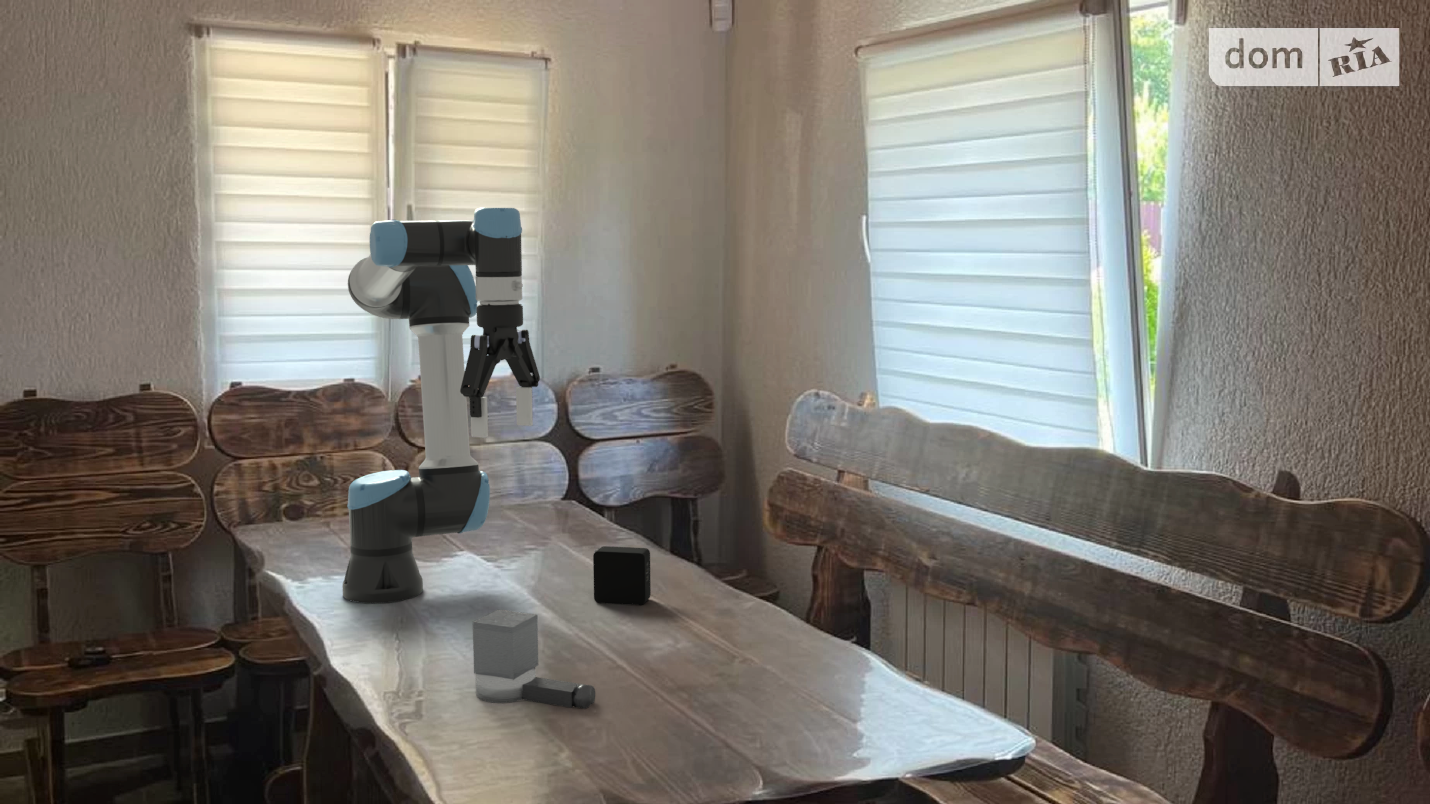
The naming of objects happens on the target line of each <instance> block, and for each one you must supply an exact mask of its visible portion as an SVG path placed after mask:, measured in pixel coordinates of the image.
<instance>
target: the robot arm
mask: <svg viewBox="0 0 1430 804" xmlns="http://www.w3.org/2000/svg"><path fill="white" fill-rule="evenodd" d="M522 233H523V228H522V224H521V214H520V211H519V209H517V208H515V207H478V208H476V209H475V210H474V214H473V220H470V219H469V220H467V219H466V220H454V219H453V220H406V219H405V220H400V219H398V220H397V219H389V220H380V221H379V220H378V221H374V222H373V223H372V225H371V226H370V232H369V252H370V254H369V255H368V256H367V257H365V258H363V259H360V260H359V261H358V262H356V264H355V265H354V266H353V267H352V269H351V271H350V272H349V274H348V279H347V289H348V290H347V291H348V292H349V295H350V297H351V299H352V300H353V302H354V303H355V304H356V305H357V306H358V307H359V308H360V309H362V310H363V311H365V312H367V313H368V314H371V315H372V316H375V317H378V318H382V319H389V320H408V324H409V330H411V332H413V333H414V334H415V335H416V337H417V340H418V357H419V371H420V373H419V374H420V385H421V389H420V390H421V402H422V405H421V406H422V417H423V420H422V421H423V433H424V435H423V436H424V448H425V450H424V451H425V457H424V458H425V459H423V461H422V463H421V464H420V465H419V466H418V476H415V477H414V476H413V477H412V475H411V474H410V472H409V471H407V470H404V469H394V470H392V469H390V470H382V471H377V472H373V473H369V474H366V475H364V476H361V477H359V478H356V479H355V480H353V481H352V482H351V483H350V484H349V487H348V496H347V505H346V506H347V509H348V520H349V521H348V522H349V524H348V525H349V545H350V548H349V549H350V555H349V560H348V565H347V567H346V572H345V575H344V580H343V582H342V587H341V588H342V596H344V597H345V598H344V597H343V598H344V599H346V600H348V601H350V600H351V602H355V603H360V604H361V603H363V604H381V603H382V604H383V603H392V602H393V603H394V602H400V601H404V600H408V599H412V598H414V597H417V596H419V595H420V594H422V593H423V591H424V582H423V581H424V579H423V576H422V575H421V573H420V570H419V567H418V564H417V561H416V558H415V555H414V552H413V538H417V537H428V536H438V535H439V536H440V535H451V534H460V535H461V534H463V533H467V532H474V531H477V530H479V529H480V528H482V527H483V526H484V524H485V522H486V520H487V517H488V512H489V507H490V499H491V488H490V482H489V481H490V480H489V476H488V474H487V472H485V471H483V470H480V469H479V467H480V466H479V462H478V461H477V460H476V459H475V458H474V457H472V455H471V449H470V435H471V437H472V438H483V439H486V438H489V420H488V418H489V416H488V413H489V412H488V396H484V395H485V393H486V391H487V388H488V386H489V383H490V380H491V378H492V376H493V373H494V370H495V368H496V366H497V365H498V364H500V362H501V361H504V360H505V361H506V363H507V365H508V366H509V369H510V371H511V373H512V375H513V376H514V378H515V380H516V382H517V384H518V385H519V386H516V387H515V400H516V401H515V402H516V405H515V407H516V411H515V412H516V426H522V427H525V426H526V427H533V426H534V422H533V420H534V419H533V388H537V387H538V386H539V383H540V380H541V376H540V372H539V369H538V367H537V363H536V359H535V356H534V352H533V349H532V346H531V343H530V332H529V330H528V329H519V327H523V325H524V306H523V305H522V304H521V303H520V301H522V300H523V280H522V276H523V273H522V272H523V268H522V267H523V265H522V259H523V258H522V257H523V256H522ZM469 266H475V279H474V275H473V273H472V271H471V269H470V267H469ZM478 302H479V304H478ZM474 316H476V325H477V326H478V327H479V328H482V331H483V332H482V334H472V335H470V343H469V344H470V346H469V347H470V349H469V353H468V357H467V361H466V366H465V358H464V357H465V355H464V342H463V340H464V339H463V335H464V333H465V332H466V330H467V329H468V328H469V327H470V318H473V317H474ZM467 398H468V399H469V415H470V433H469V420H468V418H469V417H468V405H467V404H468V402H467V401H468V400H467Z"/></svg>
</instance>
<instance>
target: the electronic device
mask: <svg viewBox="0 0 1430 804" xmlns="http://www.w3.org/2000/svg"><path fill="white" fill-rule="evenodd" d="M592 559H593V561H592V563H593V567H592V568H593V599H594V601H595V602H596V603H598V604H610V605H612V604H613V605H626V606H629V605H631V606H642V605H643V606H644V605H645V603H646V602H647V601H648V600H649V599H650V598H651V594H652V593H651V589H652V588H651V551H650V550H649V548H646V547H628V546H627V547H626V546H611V545H609V546H607V545H606V546H604V545H603V546H601V547H597V549H595V550H594V553H593V558H592Z"/></svg>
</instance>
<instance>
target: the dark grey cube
mask: <svg viewBox="0 0 1430 804" xmlns="http://www.w3.org/2000/svg"><path fill="white" fill-rule="evenodd" d="M538 629H539V628H538V614H536V613H535V614H534V613H528V612H520V611H513V610H505V609H496V610H494V611H492V612H490V613H488V614H485V615H484V616H481V617H480V618H478V619H476V620H474V621H472V645H473V646H472V647H473V673H474V674H475V673H476V674H482V675H488V676H495V677H501V678H508V679H515V678H517V677H519V676H521V675H522V674H524V673H526V672H527V671H529V670H531V669H533V668H534V667H535V668H536V667H538V666H539V640H538V639H539V635H538V634H539V633H538V632H539V631H538ZM476 674H475V675H476Z"/></svg>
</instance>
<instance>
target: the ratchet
mask: <svg viewBox="0 0 1430 804" xmlns="http://www.w3.org/2000/svg"><path fill="white" fill-rule="evenodd" d="M474 674H475V695H476V697H477V698H478V699H479V700H482V701H484V702H488V703H498V704H501V703H502V704H504V703H505V704H506V703H515V702H520V701H528V702H535V703H540V704H547V705H555V706H560V707H563V708H564V707H565V708H578V709H584V710H585V709H587V708H589V707H590V706H592V705H593V704H594V703H595V701H596V689H595V687H594V686H593V685H591V684H584V683H577V682H571V681H565V680H557V679H551V678H545V677H544V678H543V677H538V676H536V667H534V668H533V669H531V670H529V671H527V672H526V673H524V674H522V675H521V676H519V677H517V678H515V679H508V678H501V677H495V676H488V675H482V674H476V673H474Z"/></svg>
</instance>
